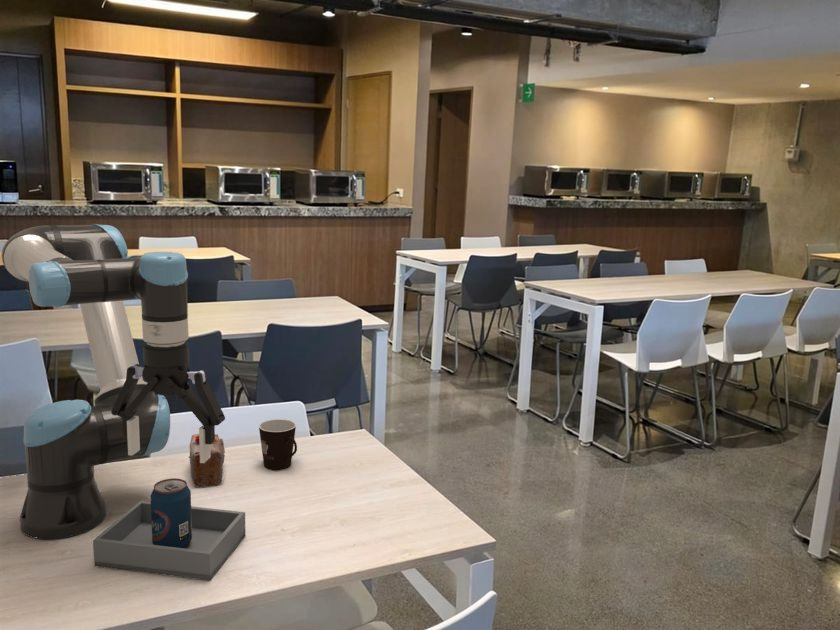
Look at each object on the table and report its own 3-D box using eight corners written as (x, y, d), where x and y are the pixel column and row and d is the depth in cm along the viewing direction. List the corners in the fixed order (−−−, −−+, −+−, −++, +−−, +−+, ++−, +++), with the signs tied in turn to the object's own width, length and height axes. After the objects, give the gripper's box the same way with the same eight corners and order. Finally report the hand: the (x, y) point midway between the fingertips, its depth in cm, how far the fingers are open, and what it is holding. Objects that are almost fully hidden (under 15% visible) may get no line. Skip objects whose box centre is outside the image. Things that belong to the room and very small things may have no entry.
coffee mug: (257, 459, 175) (257, 420, 173) (293, 456, 177) (293, 418, 175) (262, 479, 164) (261, 438, 162) (300, 475, 167) (300, 435, 165)
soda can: (144, 547, 132) (141, 486, 129) (176, 532, 137) (174, 473, 135) (168, 559, 128) (166, 497, 125) (200, 543, 133) (198, 483, 131)
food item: (188, 465, 170) (187, 425, 168) (223, 461, 173) (222, 423, 171) (191, 489, 158) (189, 447, 156) (228, 485, 160) (227, 443, 159)
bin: (94, 566, 127) (92, 540, 126) (140, 524, 142) (139, 500, 141) (210, 580, 124) (209, 553, 123) (245, 536, 139) (245, 512, 138)
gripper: (86, 341, 123) (92, 457, 127) (225, 352, 120) (226, 472, 124) (111, 331, 130) (116, 441, 135) (242, 342, 127) (243, 455, 131)
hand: (169, 456), depth 129 cm, fingers open, 13 cm apart
